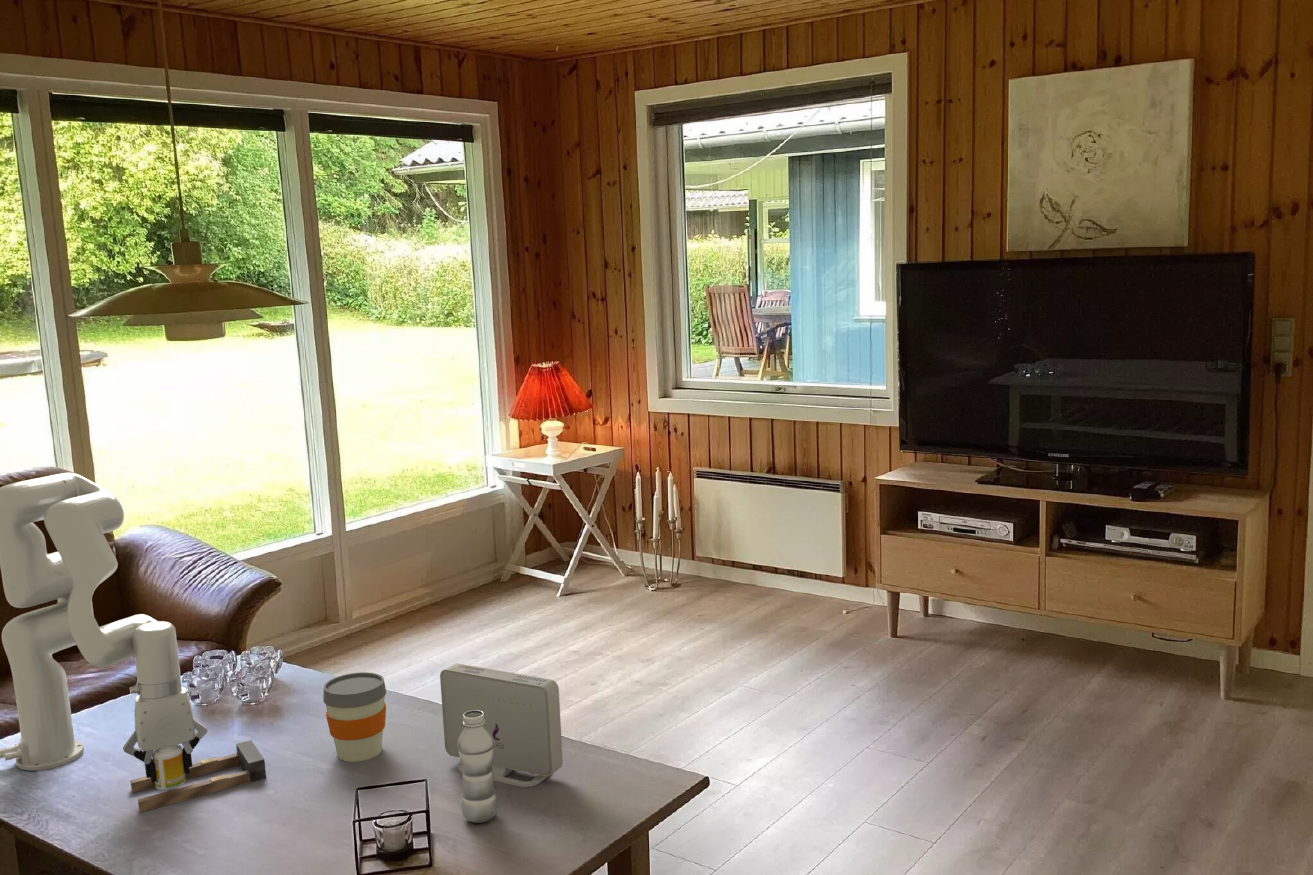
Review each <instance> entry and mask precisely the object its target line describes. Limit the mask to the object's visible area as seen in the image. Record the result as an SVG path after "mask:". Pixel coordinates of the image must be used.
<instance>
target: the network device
mask: <svg viewBox="0 0 1313 875" xmlns="http://www.w3.org/2000/svg"><path fill="white" fill-rule="evenodd" d="M439 682H440V693H441V695H440V696H441V697H440V698H441V707H442V708H441V710H442V721H443V722H442V725H443V736H444V738H443V739H444V749H445V751H446V753H447V754H448V755H449V756H451V757H455V758H459V759H460V756H459V751H458V745H457V743H458V739H459V736H460V734H461V733H462V731H463V730H464V728H465V726H464V725H463V721H464V720H463V714H464V713H465V712H467V711H471V710H480V711H482V712H483V713H484V719H485V724H484V726H485V727H486V728H487V729H488V731H489V732H490V733H491V735H492V737H493V740H494V746H493V758H492V777H493V782H494V781H495V782H500V783H503V784H506V785H507V784H508V785H510V786H511V785H512V786H517V787H522V788H526V787H527V788H528V786H530V787H534V786H536V785H539V784H540V783H542V782H543V781H544V780H546V779H547V778H548V777H550V776H552V775H553V774H554V773H555V772H557V771H558V770H559V769H561V768H562V766H563V764H564V762H563V743H562V742H563V741H562V726H561V725H562V723H561V706H560V704H561V702H560V688H559V684H558V683H557V682H556V681H555V680H554V679H552V678H551V679H549V678H545V677H539V676H532V675H528V674H522V673H515V672H509V671H503V670H498V669H497V670H496V669H494V668H493V669H491V668H487V667H486V668H485V667H480V666H474V665H468V664H465V663H463V664H462V663H454V664H452V665H450V666H449V667H446V668H445V669H443V670H441V672H440V673H439ZM457 768H458V771H459V773H461V774H462V766H461V762H460V763H459V764H458V767H457ZM513 771H518V772H523V773H528V774H531V775H536V777H535V778H533V779H532V780H529V781H522V780H519V779H518V780H517V779H514V778H510V777H506V776H507V775H508V774H510V773H512V772H513ZM546 777H547V778H546ZM542 780H543V781H542ZM541 781H542V782H541ZM533 785H534V786H533Z"/></svg>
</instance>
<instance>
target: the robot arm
mask: <svg viewBox="0 0 1313 875" xmlns="http://www.w3.org/2000/svg"><path fill="white" fill-rule="evenodd" d="M124 519H125V513H124V509H123V506H122V505H121V502H120V501H119V499H118V498H117V497H116V496H115V495H114V494H113V493H112V492H111V491H109V490H108V489H106V488H105V487H103V486H101V485H99V484H97V483H95V482H93V481H91V480H90V479H88V478H86V477H84V476H82V475H80V474H78V473H73V472H61V473H57V474H51V475H47V476H41V477H35V478H32V479H27V480H21V481H20V480H19V481H16V482H13V483H9V484H6V485H3V486H1V487H0V572H1V573H0V574H1V578H2V586H3V593H4V594H5V595H4V596H5V599H6V601H7V602H8V604H9V605H10V606H12V607H14V608H17V609H18V608H19V609H24V608H26V609H27V608H30V607H35V606H38V605H40V604H41V605H42V604H45V603H49V602H51V601H54V600H57V603H56V604H52V605H49V606H48V605H47V606H46V607H42V608H38V609H35V610H31V611H29V612H25V613H22V614H20V615H18V616H16V617H13V618H12V619H10V620H9V621H8V622H7V623H6V624H5V626H4V627H3V628H2V632H1V641H2V642H1V643H2V646H3V648H4V651H5V654H6V656H7V659H8V663H9V665H10V671H11V675H12V680H13V687H14V695H15V702H16V709H17V716H18V717H17V718H18V725H19V731H20V738H19V743H16V744H14V746H11V747H3V748H0V759H5V760H4V761H10V760H13V759H15V765H16V768H19V769H20V770H24V771H32V772H33V771H43V770H48V769H49V770H51V769H54V768H58V767H61V766H64V765H67V764H69V763H71V762H73V761H75V760H76V759H78V758H80V757H81V756H82V755H83V753H84V751H85V747H84V743H82V742H81V741H79V740H75V734H74V733H75V732H74V726H73V716H72V710H71V701H70V697H69V688H68V682H67V674H66V671H65V668H64V667H63V666H62V665H61V664H60V663H59V662H57V660H55V659H54V658H53V654H55V653H58V652H59V651H63V650H65V649H68V648H71V647H73V646H77V648H78V650H79V652H80V654H81V655H82V656H83V658H84V659H85V660H86V662H88V663H89V664H90V665H91V666H94V667H96V668H105V667H108V666H112V665H115V664H118V663H120V662H122V661H125V660H128V659H130V658H133V657H134V663H135V671H136V679H137V681H136V683H135V685H133V686H130V687H129V692H130V693H129V694H130V695H133V694H136V695H137V696H136V697H135V702H134V728H135V729H134V731H133V733H132V734H131V736H130V737H129V738H128V740H127V741H126V743H124V745H123V747H122V749H123V752H124V753H126V754H128V755H130V756H133V758H136V759H138V760H140V762H143V763H144V769H145V777H147V778H150V779H151V781H152V783H154V782H155V781H156V775H155V767H154V762H153V759H152V754H153V750H156V749H160V748H165V747H169V746H173V745H177V744H179V745H182V751H183V761H184V769H185V773H186V774H190V770H189V767H192V764H193V759H192V753H193V752H194V749H195V748H196V746H198V744H199V743H200V741H201V740H202V739H203V737H205V735H206V734H207V733H208V729H207V727H206V726H205V725H203V724H202V723H201V722H199V721H198V720H196V719H195V718H194V715H193V709H192V704H191V700H190V695H189V693H188V690H187V689H186V687H184V686H182V679H181V667H180V658H179V649H178V640H177V631H176V627H175V626H174V624H173V623H171V622H169V621H164V620H163V621H162V620H161V621H160V620H157V619H155V618H154V617H152V616H150V615H147V614H144V613H140V614H139V613H138V614H134V615H131V616H128V617H125V618H122V619H118V620H116V621H113V622H110V623H107V624H104V625H100V626H99V624H98V622H97V620H96V618H95V614H94V608H93V607H94V606H93V601H92V600H93V595H94V592H95V590H96V589H97V588H98V587H99V585H100V584H102V583H103V582H104V581H106V580H107V579H108V578H110V577H111V576H112V575H113V574H114V573H115V572H116V571H117V569H118V565H119V563H118V560H117V558H116V556H115V554H114V552H113V550H112V548H111V546H110V544H109V542H108V540H107V539H106V536H105V535H104V534H107V533H111V532H113V531H116V530H118V529H119V528H120V527H121V526H122V525H123V523H124ZM39 521H40V522H41V521H43V522H44V523H43V524H44V526H45V529H46V531H47V533H48V534H49V537H50V539H51V541H52V542H53V544H54V547H55V548H56V550H57V551H54V552H51V553H48V551H47V550H48V549H47V543H46V542H47V540H46V538H45V535H44V533H43V532H42V531H41V529H40V528H39V526H37V525H36V524H35V523H36V522H39ZM136 744H137V746H138V748H136V747H134V746H135V745H136Z"/></svg>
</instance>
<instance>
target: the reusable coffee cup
mask: <svg viewBox="0 0 1313 875" xmlns="http://www.w3.org/2000/svg"><path fill="white" fill-rule="evenodd" d="M386 695H387V688H386V683H385V678H384V677H383V676H382V675H381V674H378V673H374V672H369V671H368V672H365V671H363V672H351V673H347V674H346V673H345V674H341V675H338V676H336V677H333V678H331V679H330V680H328V681H326V683H324V685H323V700H322V701H323V703H324V704H325V708H326V712H325V717H326V721H327V725H328V730H329V733H330V736H331V738H332V739H333V741H334V742H333V743H334V747H335V751H336V755H337V758H338V759H339V760H341V761H345V762H351V763H353V762H355V763H357V762H363V761H368V760H370V759H373V758H375V757H377V756H378V755H380V753H381V752H382V751H383V735H384V733H383V732H384V730H385V727H386V718H387V715H386V714H387V704H386V703H385V698H386Z"/></svg>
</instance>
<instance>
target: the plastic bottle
mask: <svg viewBox="0 0 1313 875" xmlns="http://www.w3.org/2000/svg"><path fill="white" fill-rule="evenodd" d="M463 720H464V721H463V725H464V726H465V728H464V730H463V731H462V733H461V734H460V736H459V739H458V743H457V745H458V751H459V756H460V758H459V760H460V763H461V766H462V773H461V774H462V791H461V792H462V795H461V801H460V810H461V813H462V816H463V818H465V820H466V821H468V822H469V823H474V824H479V823H481V824H482V823H486V822H489V821H491V820H492V819H493V818H494V817H495V816H496V814H497V811H498V803H499V802H498V799H497V798H498V797H497V794H496V791H495V785H494V780H493V777H492V769H493V765H492V758H493V746H494V740H493V737H492V735H491V733H490V732H489V731H488V729H487V728H486V727H485V726H484V724H485V719H484V713H483V712H482V711H480V710H471V711H467V712H465V713H464V714H463Z"/></svg>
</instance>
